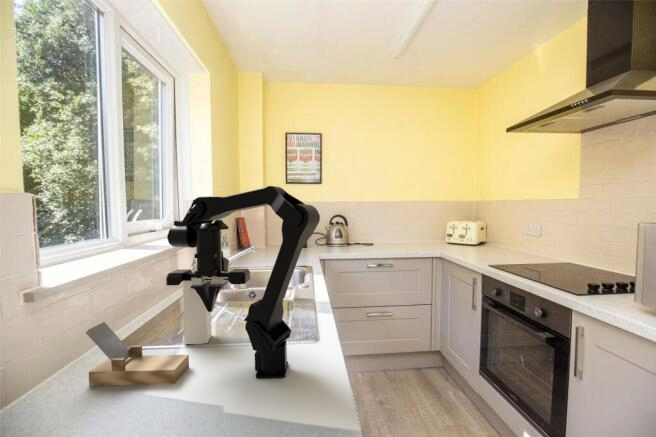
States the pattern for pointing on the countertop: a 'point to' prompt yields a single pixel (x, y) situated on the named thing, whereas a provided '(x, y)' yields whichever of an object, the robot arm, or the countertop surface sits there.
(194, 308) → the milk
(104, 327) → the lever cap
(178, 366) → the body
